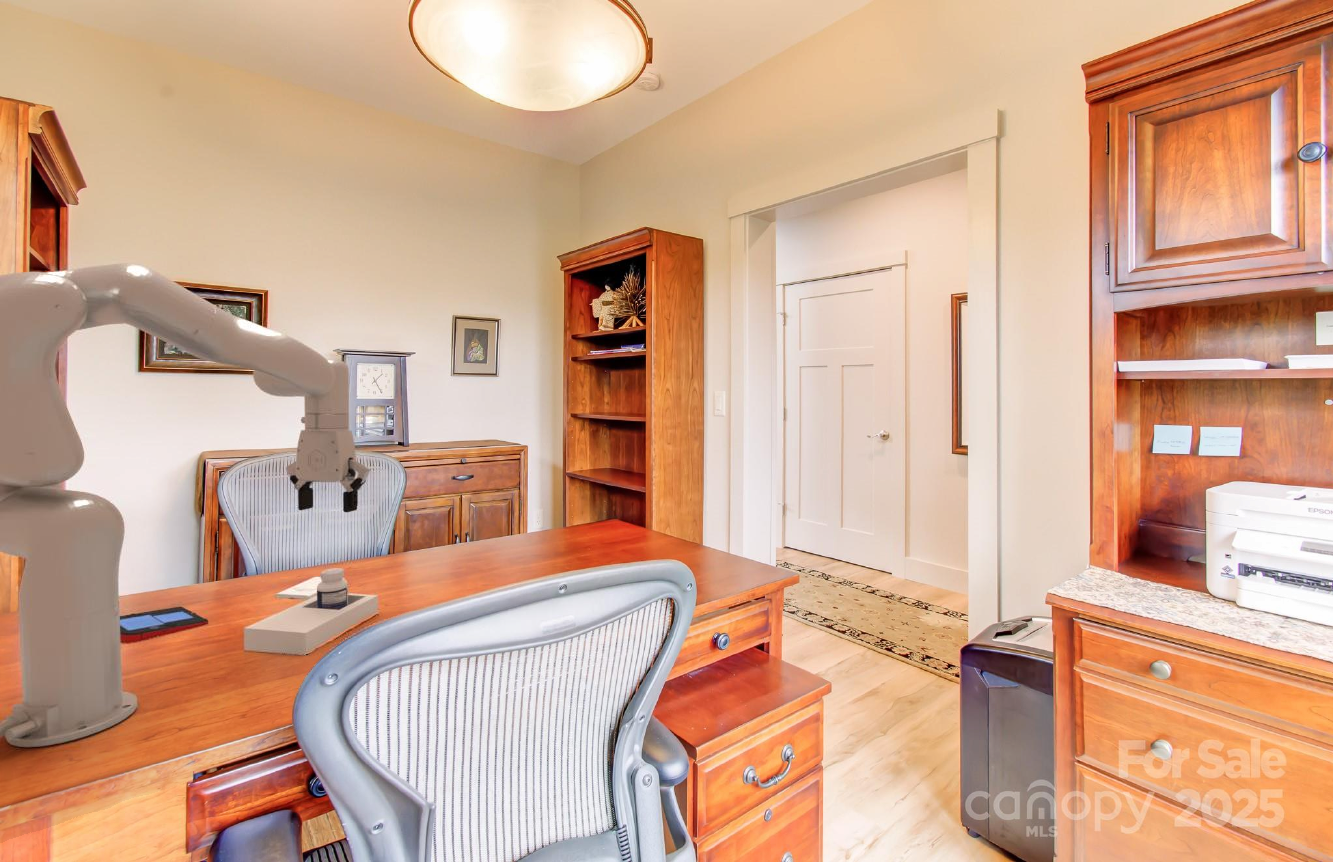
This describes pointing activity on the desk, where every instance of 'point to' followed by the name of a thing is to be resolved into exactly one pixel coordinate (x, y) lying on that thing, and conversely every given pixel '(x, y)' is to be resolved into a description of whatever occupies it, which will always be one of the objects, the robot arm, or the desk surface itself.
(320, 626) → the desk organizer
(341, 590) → the pill bottle
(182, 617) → the game console
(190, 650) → the desk surface
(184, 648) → the desk surface
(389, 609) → the desk surface
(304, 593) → the external hard drive
